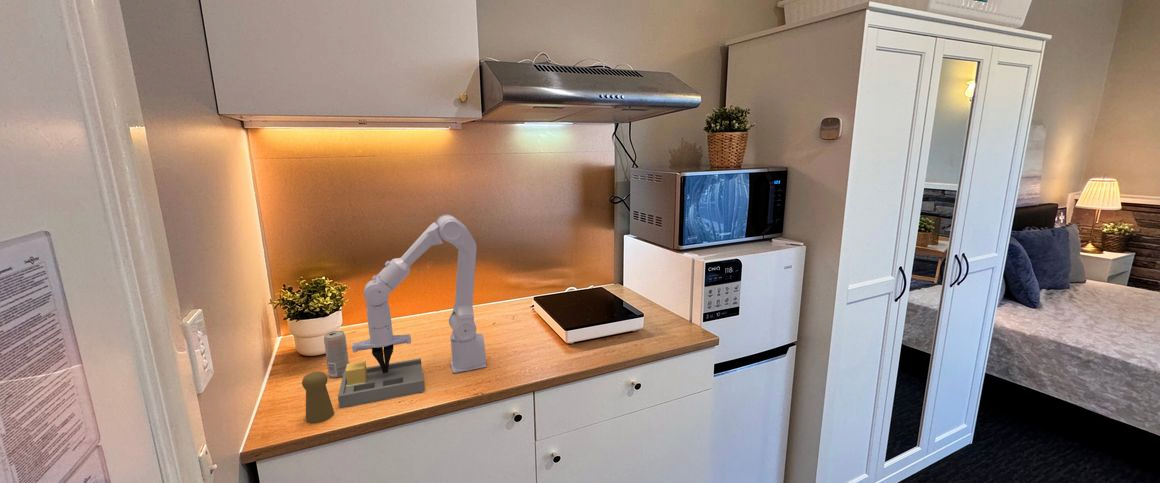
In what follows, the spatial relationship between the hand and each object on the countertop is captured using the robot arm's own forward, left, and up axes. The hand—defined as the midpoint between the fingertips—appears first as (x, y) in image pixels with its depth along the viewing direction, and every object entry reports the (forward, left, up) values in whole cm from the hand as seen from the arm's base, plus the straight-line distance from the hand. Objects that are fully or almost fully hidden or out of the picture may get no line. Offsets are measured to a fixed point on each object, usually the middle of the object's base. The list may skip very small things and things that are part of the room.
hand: (385, 371), depth 127 cm
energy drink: (+13, -10, -3) cm, 16 cm away
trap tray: (+1, +3, -3) cm, 4 cm away
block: (+7, 0, -1) cm, 7 cm away
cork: (+15, +12, -3) cm, 19 cm away
